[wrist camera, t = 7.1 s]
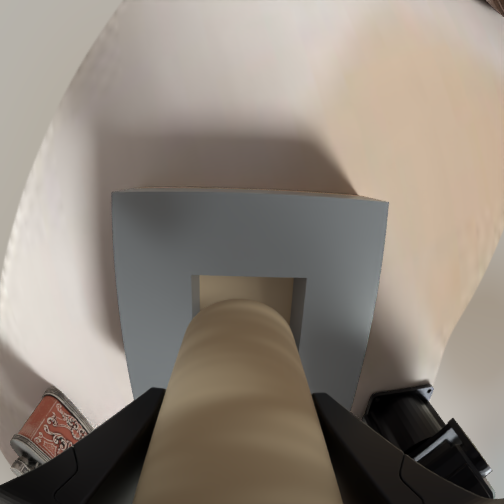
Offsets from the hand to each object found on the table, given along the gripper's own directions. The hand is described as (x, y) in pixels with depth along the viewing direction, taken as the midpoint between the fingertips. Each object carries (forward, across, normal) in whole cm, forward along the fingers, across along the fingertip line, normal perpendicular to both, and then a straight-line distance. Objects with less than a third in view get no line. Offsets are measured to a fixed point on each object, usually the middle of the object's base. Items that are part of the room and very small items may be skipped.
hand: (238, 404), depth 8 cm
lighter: (+13, +16, +16) cm, 26 cm away
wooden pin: (+3, 0, 0) cm, 3 cm away
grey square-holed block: (+13, 0, +2) cm, 13 cm away
